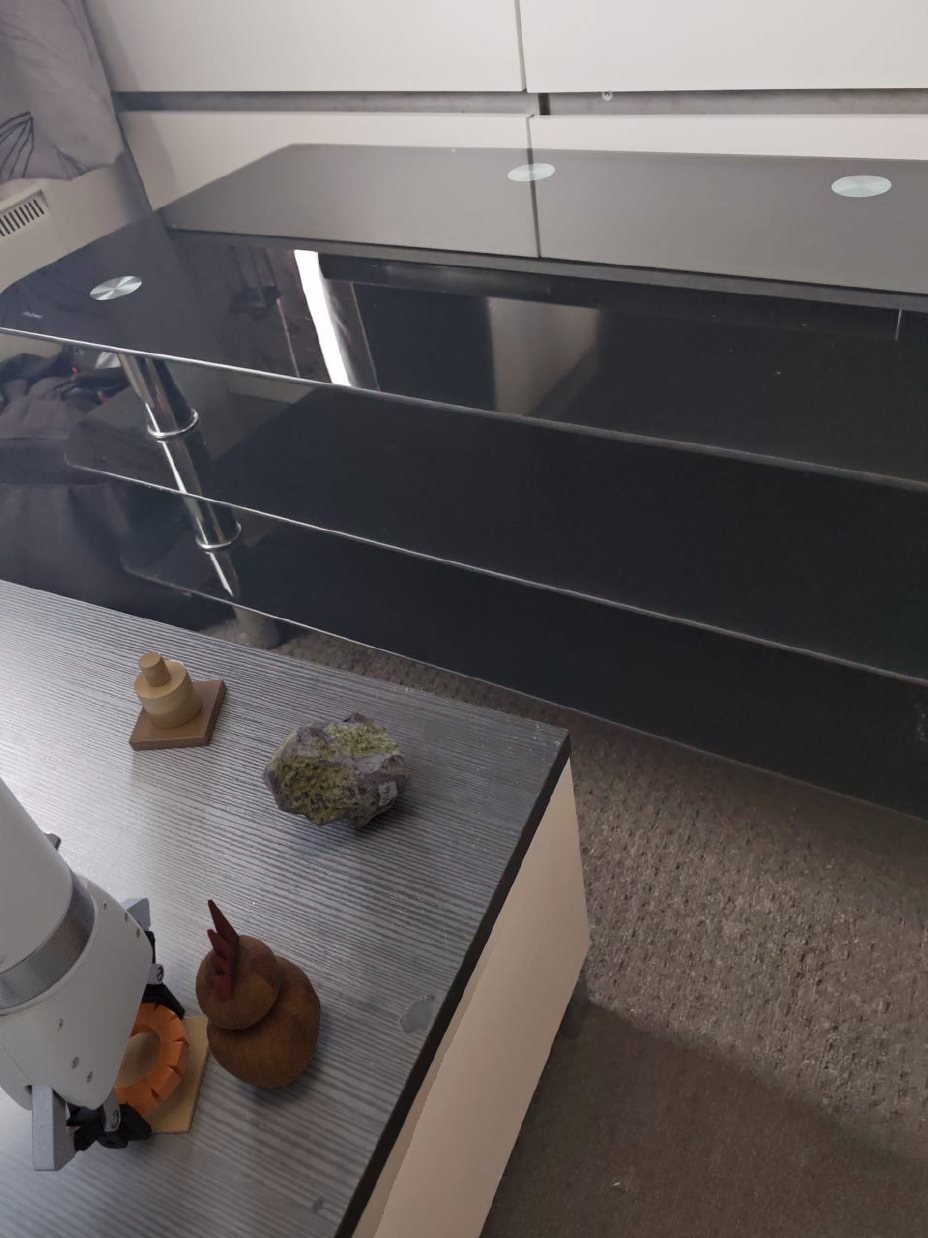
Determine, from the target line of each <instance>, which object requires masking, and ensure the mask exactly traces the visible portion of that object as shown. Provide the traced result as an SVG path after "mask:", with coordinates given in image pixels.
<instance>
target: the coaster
mask: <svg viewBox="0 0 928 1238" xmlns="http://www.w3.org/2000/svg"><path fill="white" fill-rule="evenodd" d="M181 1022H182V1024H183V1025H184V1026H185V1028H186V1031H187V1035H188V1039H189V1042H190V1046H189V1047H187V1048H188V1049H189V1050H190V1054H189V1058H188V1062H187V1066H186V1069H185V1073H184V1074H177V1075H178V1076H179V1077H180V1078H181V1081H180V1083H179V1084H178V1085H177V1086H176V1088H175V1089H174V1090H173V1092H172V1093H171V1094H170V1095H169V1097H168V1098H167V1099H166V1101H164V1100H163V1099H161V1098H160V1097H159V1096H158V1098H159V1103H160V1105H159V1106H158V1107H156V1108H154V1109H152V1110H151V1111H149V1112H147V1113H145V1114H143V1115H142V1116H141V1117H142V1118H143V1119H144V1120H145V1121H146V1122H147V1123H148V1124H149V1125H150V1126H151V1129H152V1133H190V1130H191V1126H192V1121H193V1117H194V1115H195V1110H196V1106H197V1101H198V1098H199V1094H200V1089H201V1085H202V1080H203V1077H204V1073H205V1069H206V1065H207V1061H208V1056H209V1053H210V1050H211V1049H210V1045H209V1042H208V1038H207V1030H206V1028H207V1023H208V1018H207V1016H184V1018H183V1020H181ZM160 1048H161V1042H160V1038H159V1036H158V1035H157V1034H156V1033H138V1034H137V1035H135V1036H133V1037H131V1038H129V1041H128V1045H127V1048H126V1051H125V1054H124V1057H123V1060H122V1063H121V1066H120V1069H119V1072H118V1075H117V1078H116V1080H115V1083H114V1087H128V1086H130V1085H132V1084H133V1083H135V1082H137V1081H139V1080H141V1079H142V1078H144V1077H145V1075H146V1074H147V1073H148V1072H149V1071H150V1069H151V1068H152V1067H153V1066H154V1064H155V1063H156V1062H157V1059H158V1055H159V1052H160Z"/></svg>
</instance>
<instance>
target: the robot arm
mask: <svg viewBox="0 0 928 1238" xmlns="http://www.w3.org/2000/svg"><path fill="white" fill-rule="evenodd" d="M61 844H62V839H61V838H60V836H59V835H56V834H55V833H52V832H50V831H49V832H48V831H43V830H42V829H41V828H40V826H39V824H37V822H36V821H35V820H34V818H33V817H32V816H31V814H29V812H28V811H27V810H26V808H25V807H24V806H23V805H22V803H21V801H19V799H18V798H17V796H15V793H13V791H12V790H11V789H10V787H9V786H8V784H7V783H6V782H5V781H4V780H3V778H2V777H1V776H0V1088H1V1089H2V1090H3V1091H4V1092H5V1093H6V1095H8V1096H9V1097H10V1098H11V1099H12V1100H13V1101H14V1102H15V1103H16V1104H17V1105H19V1106H20V1107H21V1108H23V1109H24V1110H26V1111H31V1131H32V1134H31V1135H32V1140H31V1141H32V1166H33V1167H32V1168H33V1170H34V1171H35V1172H59V1171H60V1170H62V1169H63V1168H64V1167H65V1166H66V1165H68V1164H69V1163H70V1162H71V1161H72V1160H73V1159H75V1157H76V1154H78V1153H79V1152H85V1151H87V1150H88V1149H89V1148H90V1147H91V1146H92V1145H93V1144H94V1143H95V1142H97V1143H98V1144H99V1145H100V1146H102V1147H104V1148H106V1149H110V1150H111V1149H112V1150H124V1149H127V1148H128V1147H129V1143H130V1142H147V1141H148V1142H149V1141H150V1140H151V1136H152V1133H153V1132H152V1129H151V1126H150V1125H149V1124H148V1123H147V1122H146V1121H145V1120H144V1119H143V1118H142V1117H141V1116H140V1115H139V1114H138V1113H137V1112H136V1111H135V1110H134V1109H133V1108H132V1107H131V1106H130V1105H128V1104H118V1100H117V1097H116V1093H115V1089H114V1083H115V1080H116V1078H117V1075H118V1072H119V1069H120V1066H121V1063H122V1060H123V1057H124V1054H125V1051H126V1048H127V1045H128V1041H129V1038H130V1035H131V1032H132V1029H133V1026H134V1023H135V1019H136V1016H137V1013H138V1010H139V1007H140V1003H156V1004H157V1005H158V1006H159V1005H160V1004H162V1005H164V1006H165V1007H167V1008H168V1009H170V1010H171V1011H172V1012H174V1013H175V1014H176V1015H177V1016H178V1018H179V1019H180V1020H183V1018H184V1017H185V1014H186V1009H185V1008H184V1007H183V1005H182V1004H181V1002H179V1000H178V999H177V997H176V996H175V995H174V994H173V993H172V991H171V990H170V989H169V987H168V986H167V984H165V983H164V982H163V981H164V979H165V968H164V965H163V964H162V963H157V958H156V957H157V956H156V940H157V939H156V938H155V937H156V936H155V933H154V932H153V930H150V928H151V927H152V924H151V910H150V901H149V899H148V897H135V898H126V899H125V900H123V901H121V902H119V901H118V900H117V899H116V898H115V897H114V896H112V895H111V894H110V893H109V892H108V891H107V890H105V888H103V887H101V886H100V885H98V884H97V883H96V882H94V881H93V880H91V879H89V878H88V877H85V876H84V875H82V874H80V873H78V872H75V871H73V870H72V868H71V867H70V866H69V864H68V863H67V862H66V860H65V859H64V858H63V856H62V855H61V854H60V852H59V848H60V846H61Z"/></svg>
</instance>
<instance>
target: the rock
mask: <svg viewBox="0 0 928 1238" xmlns="http://www.w3.org/2000/svg"><path fill="white" fill-rule="evenodd" d="M260 778H261V779H262V782H263V783H264V785H265V787H266V788H267V789H268V790H269V792H270V793H271V795H272V797H273V799H274V801H275V804H276V806H277V808H278V809H279V810H280V811H282V812H284V813H288V814H292V815H295V816H300V815H301V816H304V817H305V818H306V819H307V821H309V823H310V824H312V825H314V826H317V827H319V828H320V827H324V826H326V825H330V824H332V823H333V824H334V823H337V822H340V821H344V820H345V819H346V820H347V821H348V823H349V824H350V825H351V826H353V827H354V828H358V829H360V828H362V827H364V826H367V825H368V823H370V821H371V820H372V819H373V818H375V817H376V816H377V815H380V814H382V813H384V812H386V811H388V810H389V809H390V808H392V807H393V805H394V803H395V801H396V799H397V797H400V796H402V795H403V794H404V793H405V792H406V789H407V786H408V784H407V783H408V782H409V780H410V774H409V769H408V767H407V764H406V762H405V759H404V755H403V754H402V752H401V751H400V749H399V741H398V740H397V739H396V738H394V736H392V735H391V734H390V733H389V732H388V729H386V728H385V726H383V725H380V724H378V723H377V722H376V721H375V719H374V718H370V717H369V718H368V717H366V716H365V715H361V713H359V712H358V711H356V712H352V713H351V714H348V715H347V716H346V717H345V718H344V719H342V720H340V721H339V720H338V721H337V720H324V722H321V721H317V720H313V721H312V722H309V723H305V724H304V725H300V726H298V727H296V728H295V729H293V731H292V732H291V733H287V735H286V736H285V738H284V739H283V740H282V742H281V743H280V744H279V746H276V748H275V750H274V751H273V753H272V756H271V757H270V758H269V759H268V761H267V764H266V765H265V766H264V767H263V771H262V774H261V775H260Z"/></svg>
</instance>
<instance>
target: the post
mask: <svg viewBox="0 0 928 1238" xmlns="http://www.w3.org/2000/svg"><path fill="white" fill-rule="evenodd" d="M137 665H138V667H139V669H140V671H141V672H140V673H139V674H138V675H137V677H136V679H135V680H134V684H133V690H134V693H135V694H136V697H137V698H138V700H139V701H140V703H141V705H142V707H141V710H140V712H139V714H138V716H137V719H136V722H135V724H134V727H133V729H132V731H131V734H130V737H129V739H128V742H127V743H128V744H129V746H130V748H131V749H132V750H133V751H145V750H161V749H175V748H189V747H205V746H209V745H210V740H211V737H212V735H213V732H214V729H215V725H216V722H217V718H218V716H219V713H220V711H221V710H220V709H221V706H222V703H223V700H224V697H225V694H226V691H227V688H228V687H227V684H226V683H225V680H224V678H216V679H215V678H214V679H202V680H192V678H191V676H190V674H189V672H188V670H187V668H186V666H185V665H184V664H183V663H182V662H180V661H178V660H174V659H165V660H164V658H163V655H162V654H161V652H159V651H156V650H155V651H154V650H153V651H148V652H146V653H144V654H142V655H141V656H140V658H138V660H137Z"/></svg>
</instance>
